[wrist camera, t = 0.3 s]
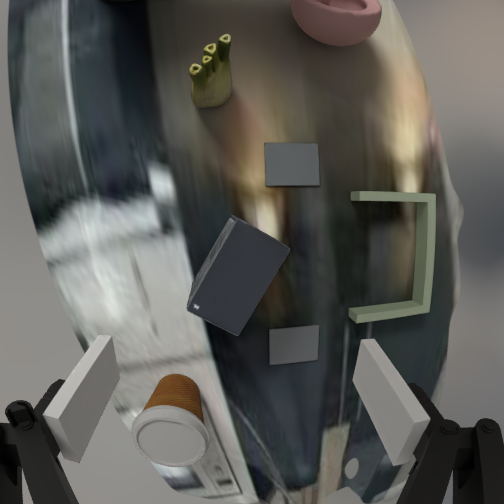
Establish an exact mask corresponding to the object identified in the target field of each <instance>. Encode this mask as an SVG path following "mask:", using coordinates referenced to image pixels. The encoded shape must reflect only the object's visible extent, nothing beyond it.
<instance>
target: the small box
mask: <svg viewBox="0 0 504 504" xmlns="http://www.w3.org/2000/svg"><path fill="white" fill-rule="evenodd" d="M289 251H290V248H289V247H287V246H285V245H284V244H282V243H281V242H279V241H278V240H276V239H275V238H273V237H271V236H269V235H268V234H266V233H264V232H262V231H260V230H259V229H257V228H255V227H253V226H252V225H250V224H248V223H246V222H245V221H243V220H241V219H240V218H238V217H236V216H235V215H231V216H230V218H229V220H228V221H227V223H226V225H225V226H224V228H223V230H222V232H221V233H220V235H219V237H218V238H217V240H216V242H215V244H214V245H213V247H212V249H211V251H210V252H209V254H208V256H207V257H206V259H205V260H204V263H203V264H202V266H201V268H200V270H199V272H198V274H197V275H196V277H195V279H194V281H193V283H192V288H191V292H190V296H189V300H188V304H187V308H186V309H187V311H188V312H190V313H193V314H194V315H196V316H198V317H200V318H202V319H204V320H206V321H208V322H210V323H212V324H214V325H216V326H218V327H220V328H222V329H224V330H226V331H228V332H230V333H232V334H234V335H236V336H238V335H239V334H240V333H241V331H242V329H243V328H244V326H245V324H246V323H247V321H248V319H249V318H250V316H251V314H252V313H253V311H254V309H255V308H256V306H257V305H258V303H259V301H260V300H261V298H262V296H263V295H264V293H265V291H266V290H267V288H268V286H269V285H270V283H271V281H272V280H273V278H274V276H275V275H276V273H277V271H278V270H279V268H280V266H281V265H282V263H283V261H284V260H285V258H286V256H287V255H288V253H289Z"/></svg>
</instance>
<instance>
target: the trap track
mask: <svg viewBox="0 0 504 504" xmlns="http://www.w3.org/2000/svg"><path fill="white" fill-rule="evenodd" d="M264 147H265V177H266V186H282V185H320V181H319V155H318V144H309V143H264ZM351 201H405V202H416V252H415V270H414V284H413V296H412V300H411V301H404V302H396V303H388V304H380V305H372V306H364V307H355V308H349V315H348V316H349V317H350V318H351V319H352V320H353V321H355V322H356V323H363V322H370V321H377V320H384V319H391V318H397V317H404V316H410V315H416V314H422V313H428V312H429V310H430V301H431V292H432V281H433V269H434V253H435V226H436V194H426V193H404V192H375V191H354V192H351ZM318 342H319V325H309V326H299V327H288V328H276V329H269V358H270V365H276V364H286V363H295V362H304V361H313V360H318Z"/></svg>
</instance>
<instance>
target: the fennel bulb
mask: <svg viewBox="0 0 504 504" xmlns="http://www.w3.org/2000/svg"><path fill="white" fill-rule="evenodd" d="M230 44H231V36H230V35H229V34H225V35H223V36H220V38H219V41H218V47H217V46H216V44H215V43H212V44H209V45H207V46H205V48H204V55H205V56H204V57H203V58H202V66H201V65H198V64H192V65H191V67H190V68H189V74H190V76H191V78H192V81H193V82H192V85H191V95H192V101H193V103H194V104H195V105H196V106H197V107H199V108H207V107H217V106H220V105H221V104H223V103H224V102H225V101H226V100H227V99H228V98H229V96H230V94H231V90H232V79H231V68H230V60H229V49H230Z"/></svg>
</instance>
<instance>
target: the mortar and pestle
mask: <svg viewBox="0 0 504 504" xmlns="http://www.w3.org/2000/svg"><path fill="white" fill-rule="evenodd" d="M291 9H292V13H293V16H294V18H295V20H296V22H297V24H298V25H299V26H300V28H301V29H302V30H303V31H304V32H305V33H306V34H307V35H309V36H310V37H312V38H313V39H315V40H317V41H319V42H321V43H324V44H327V45H332V46H350V45H354V44H357V43H360V42H362V41H364V40H365V39H367V38H368V37H369V36H371V35H372V34H373V33H374V31H375V30H376V28H377V27H378V25H379V22H380V19H381V13H382V7H381V5H380V3H379V2H378V0H291Z"/></svg>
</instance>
